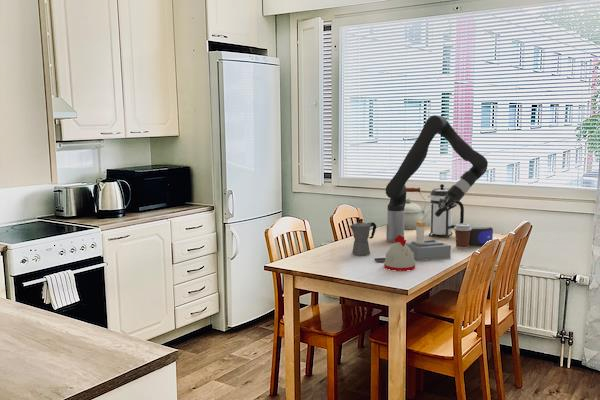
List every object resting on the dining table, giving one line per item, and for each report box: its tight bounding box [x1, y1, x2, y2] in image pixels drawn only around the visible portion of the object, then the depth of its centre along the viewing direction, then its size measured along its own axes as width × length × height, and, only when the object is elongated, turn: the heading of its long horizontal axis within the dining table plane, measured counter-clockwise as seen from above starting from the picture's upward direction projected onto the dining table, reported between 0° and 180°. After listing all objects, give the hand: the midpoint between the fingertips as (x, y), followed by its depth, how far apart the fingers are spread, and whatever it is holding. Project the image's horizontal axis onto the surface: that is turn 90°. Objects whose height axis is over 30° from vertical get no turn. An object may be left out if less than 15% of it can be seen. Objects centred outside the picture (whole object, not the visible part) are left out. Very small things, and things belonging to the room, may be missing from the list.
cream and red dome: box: [383, 235, 416, 272], centre depth 262 cm, size 14×14×15 cm
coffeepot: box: [349, 218, 377, 257], centre depth 288 cm, size 15×9×18 cm, turn 115°
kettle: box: [404, 187, 431, 230], centre depth 356 cm, size 25×18×25 cm
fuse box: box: [405, 239, 452, 262], centre depth 283 cm, size 18×14×7 cm
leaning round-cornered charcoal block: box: [469, 226, 494, 247], centre depth 305 cm, size 16×5×9 cm, turn 96°
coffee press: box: [428, 184, 465, 239], centre depth 329 cm, size 17×16×30 cm
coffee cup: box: [453, 223, 473, 250], centre depth 301 cm, size 9×9×12 cm
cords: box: [374, 257, 386, 263], centre depth 275 cm, size 17×4×1 cm, turn 99°
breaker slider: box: [413, 221, 427, 245], centre depth 281 cm, size 4×6×11 cm
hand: (436, 215), depth 282 cm, fingers closed
